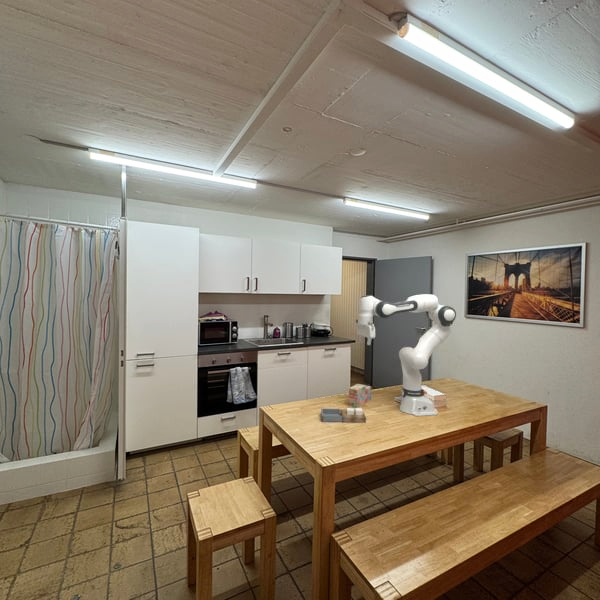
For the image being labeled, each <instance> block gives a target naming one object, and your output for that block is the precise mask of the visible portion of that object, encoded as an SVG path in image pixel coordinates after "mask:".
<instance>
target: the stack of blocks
mask: <svg viewBox="0 0 600 600" xmlns="http://www.w3.org/2000/svg"><path fill="white" fill-rule="evenodd" d="M371 400H372V386H370V385H366V384H361V383H355V384H354V385H352V386H350V387H348V407H349V408H353V409H355V408H362V406H364V405H365V404H366V403H368V402H370V401H371Z"/></svg>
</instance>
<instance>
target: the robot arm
mask: <svg viewBox="0 0 600 600" xmlns="http://www.w3.org/2000/svg"><path fill="white" fill-rule="evenodd" d="M358 301H359V302H358V312H359V313H358V317H357V318H356V319H355V332H356V335H358V336H359V342H360V343H365V339H364V338H367V341H366V345H367V346H371V342H372V339H375V338H376V327H375V325H374V316H376V317H380V318H382V319H388V318H391V317H392V316H393V315H395V314H400V313H407V312H409V313H414V314H415V313H416V314H417V313H423V312H424V313H426V317H427V319H428V320H429V321H432V322H433V325H432V327H430V328H429V329H428V330H427V331H426V332H424V334H423V335H421V336H420V338H419V339H418V343H417V344H416V346H415V347H411V346H405V347H402V348H401V349H400V350H399V352H398V357H399V361H400V364H401V371H402V387H401V402H400V406H399V410H400V411H401V412H403V413H405V414H407V415H411V416H415V417H422V416H437V415H439V411H438V410H437V409H436V407H435V406H434V403H433V401H432V400H431V399H430V398H428V397H427V396H426V395H427V394H428V391H427V390H425V389H424V388H422V381H423V380H422V374H421V371H420V370H424V369H425V368H426V367H427V366H428V364H429V359H430V357H431V355H432V354H433V352H435V351H436V349H438V348H439V346H441V345H442V344H443V343H444V342H445V340H447V339H448V337H449V336H450V334H451V333H452V329H451V326H452V325H453V324H454V321H455V320H456V318H457V311H456V310H455V308H453V307H452V306H450V305H443V304H440V303H439V299H438V296H436V295H435V294H429V293H426V294H425V293H421V294H416V295H412V296H409V297H407V299H406V300H404V301H398V302H391V301H387V300H380V299H378V298H376V297H374V296H373V295H371V294H366V295H363V296H361V297H359V300H358Z"/></svg>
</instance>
